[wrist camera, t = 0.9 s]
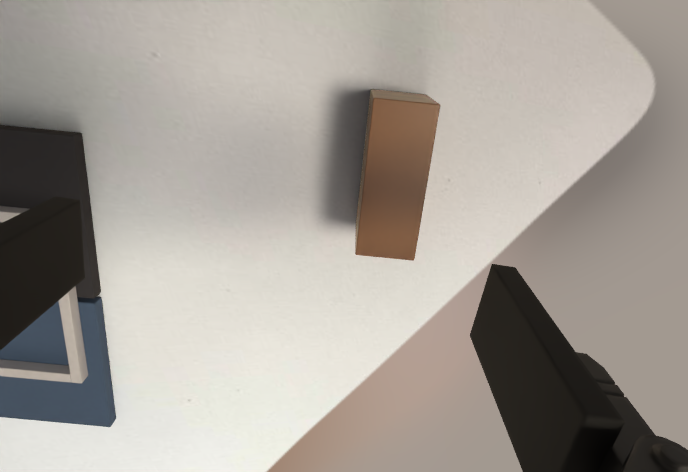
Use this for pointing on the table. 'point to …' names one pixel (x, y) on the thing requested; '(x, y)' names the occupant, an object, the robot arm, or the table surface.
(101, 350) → the back pads
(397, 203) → the brown rectangular block
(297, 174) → the table surface
